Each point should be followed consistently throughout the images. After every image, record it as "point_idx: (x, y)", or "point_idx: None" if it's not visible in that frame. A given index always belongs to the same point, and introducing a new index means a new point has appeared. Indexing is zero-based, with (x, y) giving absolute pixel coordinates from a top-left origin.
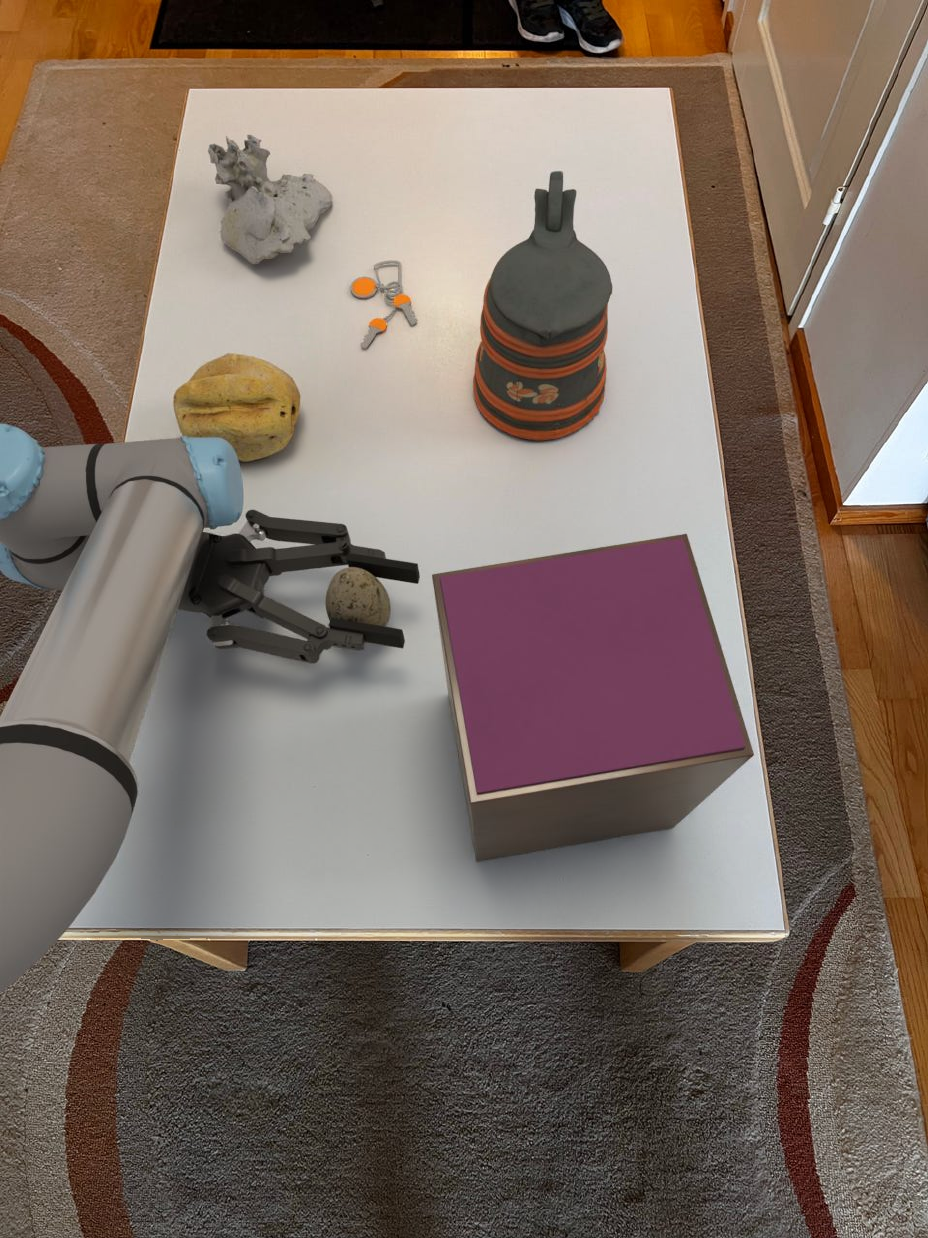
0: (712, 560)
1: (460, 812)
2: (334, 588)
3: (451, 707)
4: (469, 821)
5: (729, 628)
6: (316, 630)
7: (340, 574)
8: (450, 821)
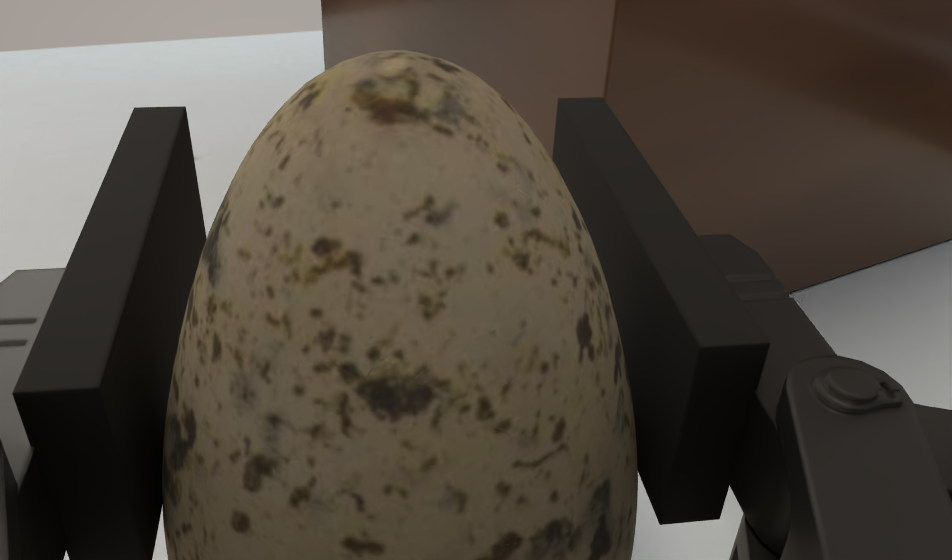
0: (45, 59)
1: (882, 280)
2: (502, 213)
3: (767, 7)
4: (893, 246)
5: (214, 41)
6: (868, 417)
7: (366, 141)
8: (923, 292)
